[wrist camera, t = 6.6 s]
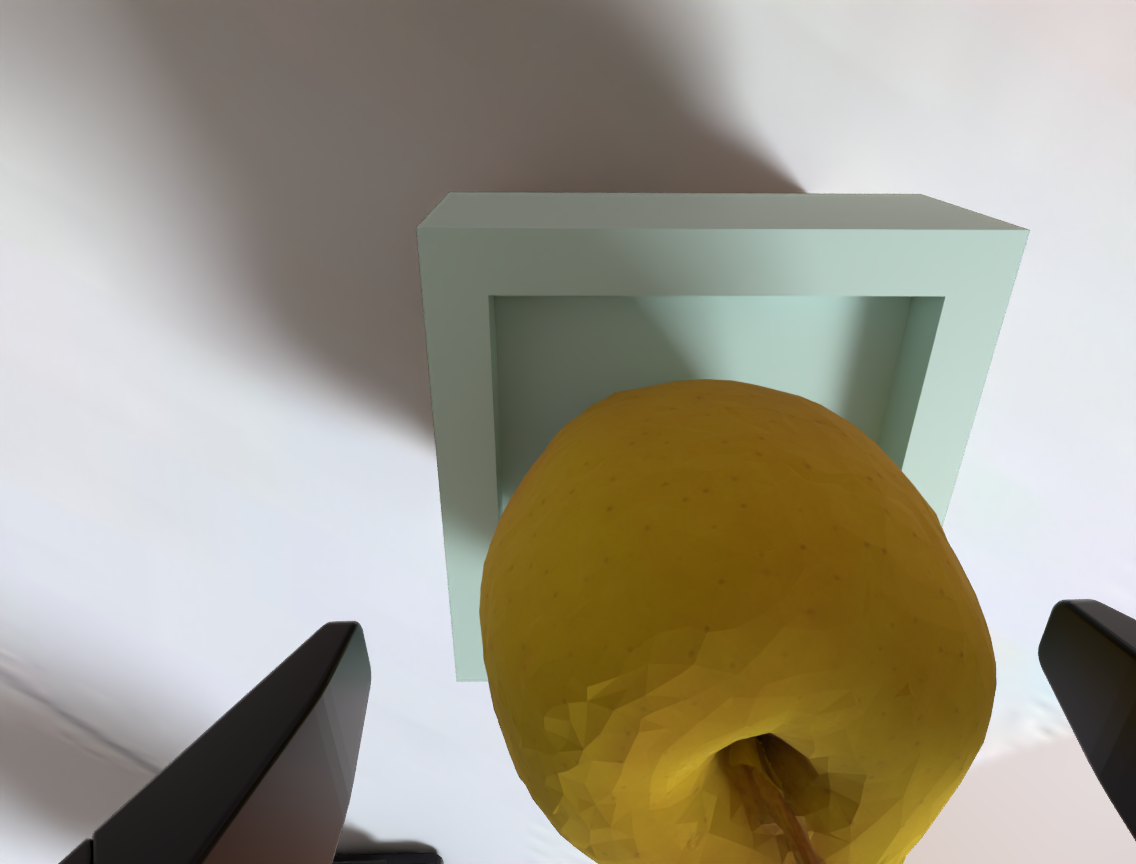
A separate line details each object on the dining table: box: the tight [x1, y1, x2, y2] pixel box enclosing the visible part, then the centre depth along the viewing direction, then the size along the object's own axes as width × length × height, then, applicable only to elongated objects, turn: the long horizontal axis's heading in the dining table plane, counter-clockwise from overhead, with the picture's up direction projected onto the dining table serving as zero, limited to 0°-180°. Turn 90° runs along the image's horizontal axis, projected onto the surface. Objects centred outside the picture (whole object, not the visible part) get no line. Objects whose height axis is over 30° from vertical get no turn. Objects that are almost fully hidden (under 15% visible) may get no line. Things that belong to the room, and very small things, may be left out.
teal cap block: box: [416, 192, 1030, 681], centre depth 14 cm, size 9×9×4 cm
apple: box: [479, 379, 996, 864], centre depth 10 cm, size 6×6×8 cm
